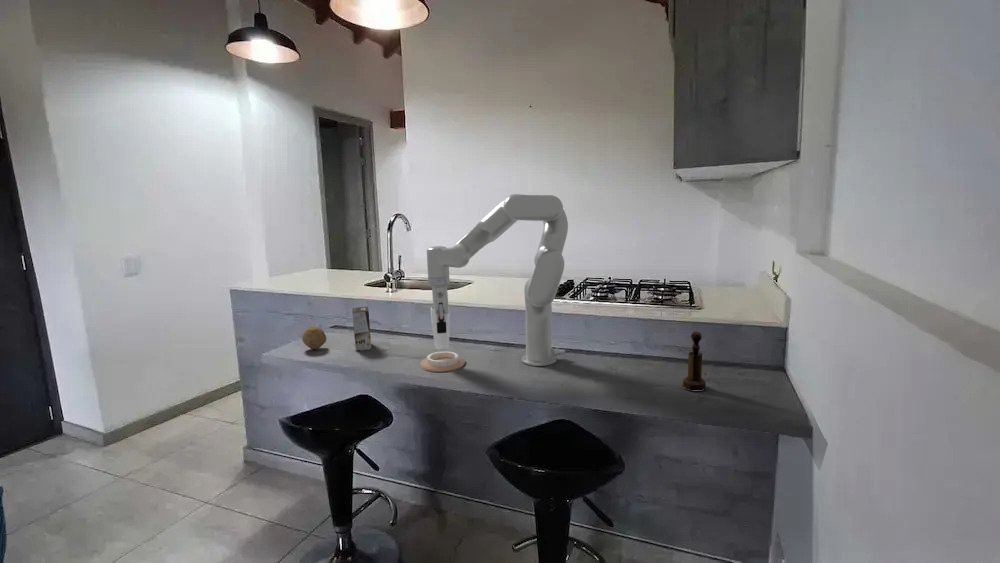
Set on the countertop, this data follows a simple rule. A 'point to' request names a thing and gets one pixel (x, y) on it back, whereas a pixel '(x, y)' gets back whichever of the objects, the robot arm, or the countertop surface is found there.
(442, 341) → the drinking glass
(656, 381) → the countertop surface
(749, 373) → the countertop surface
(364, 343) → the coffee box
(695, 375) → the dark chess pawn
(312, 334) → the natural sponge
